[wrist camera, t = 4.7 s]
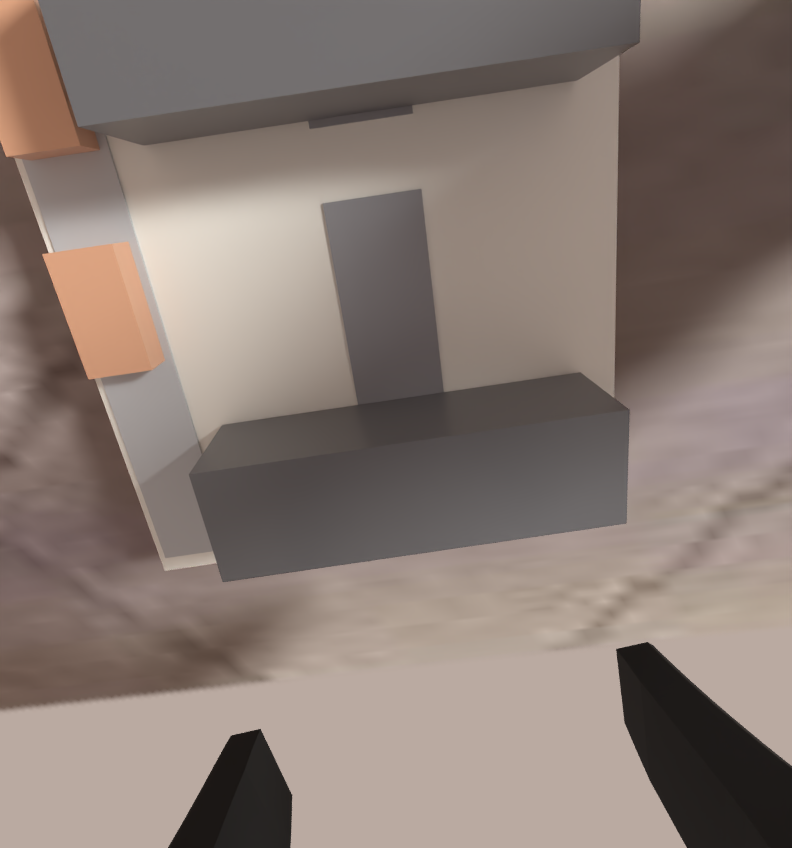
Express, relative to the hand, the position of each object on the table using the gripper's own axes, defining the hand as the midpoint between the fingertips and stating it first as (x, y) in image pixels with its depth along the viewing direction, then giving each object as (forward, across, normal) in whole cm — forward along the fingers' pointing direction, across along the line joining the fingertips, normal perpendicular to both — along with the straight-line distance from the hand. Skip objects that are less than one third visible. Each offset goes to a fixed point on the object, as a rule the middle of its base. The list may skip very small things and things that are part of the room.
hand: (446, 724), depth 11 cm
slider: (+6, 0, -3) cm, 7 cm away
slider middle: (+6, -1, -13) cm, 15 cm away
